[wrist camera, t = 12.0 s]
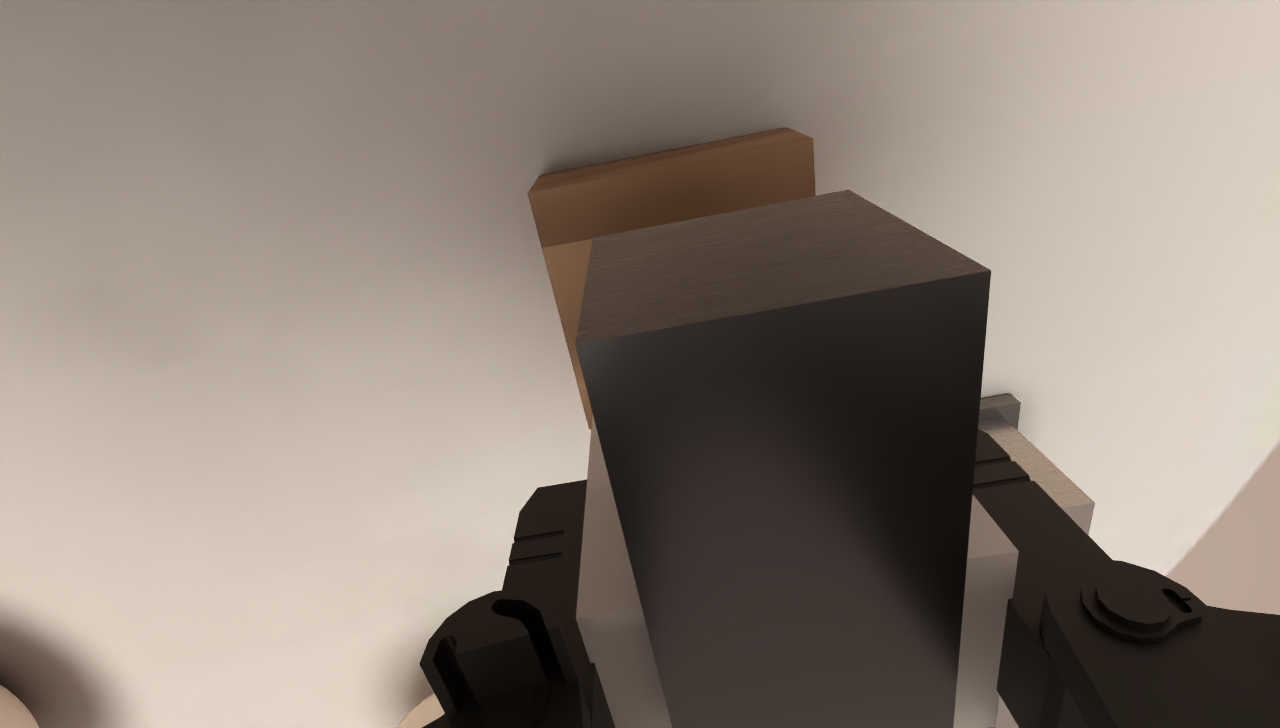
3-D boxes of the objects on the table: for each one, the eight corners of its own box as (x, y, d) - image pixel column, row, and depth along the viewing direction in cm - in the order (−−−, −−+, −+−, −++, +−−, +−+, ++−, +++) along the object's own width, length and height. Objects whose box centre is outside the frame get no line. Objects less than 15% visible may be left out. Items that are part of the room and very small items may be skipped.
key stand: (539, 175, 17) (527, 193, 15) (786, 127, 17) (813, 138, 15) (592, 388, 20) (589, 429, 18) (801, 352, 20) (825, 389, 18)
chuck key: (608, 141, 15) (575, 343, 4) (723, 118, 15) (991, 269, 4) (667, 445, 19) (727, 943, 8) (757, 430, 19) (937, 918, 8)
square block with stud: (693, 446, 21) (713, 549, 17) (1010, 393, 21) (1116, 485, 16) (738, 710, 28) (761, 832, 24) (978, 675, 28) (1048, 795, 23)
